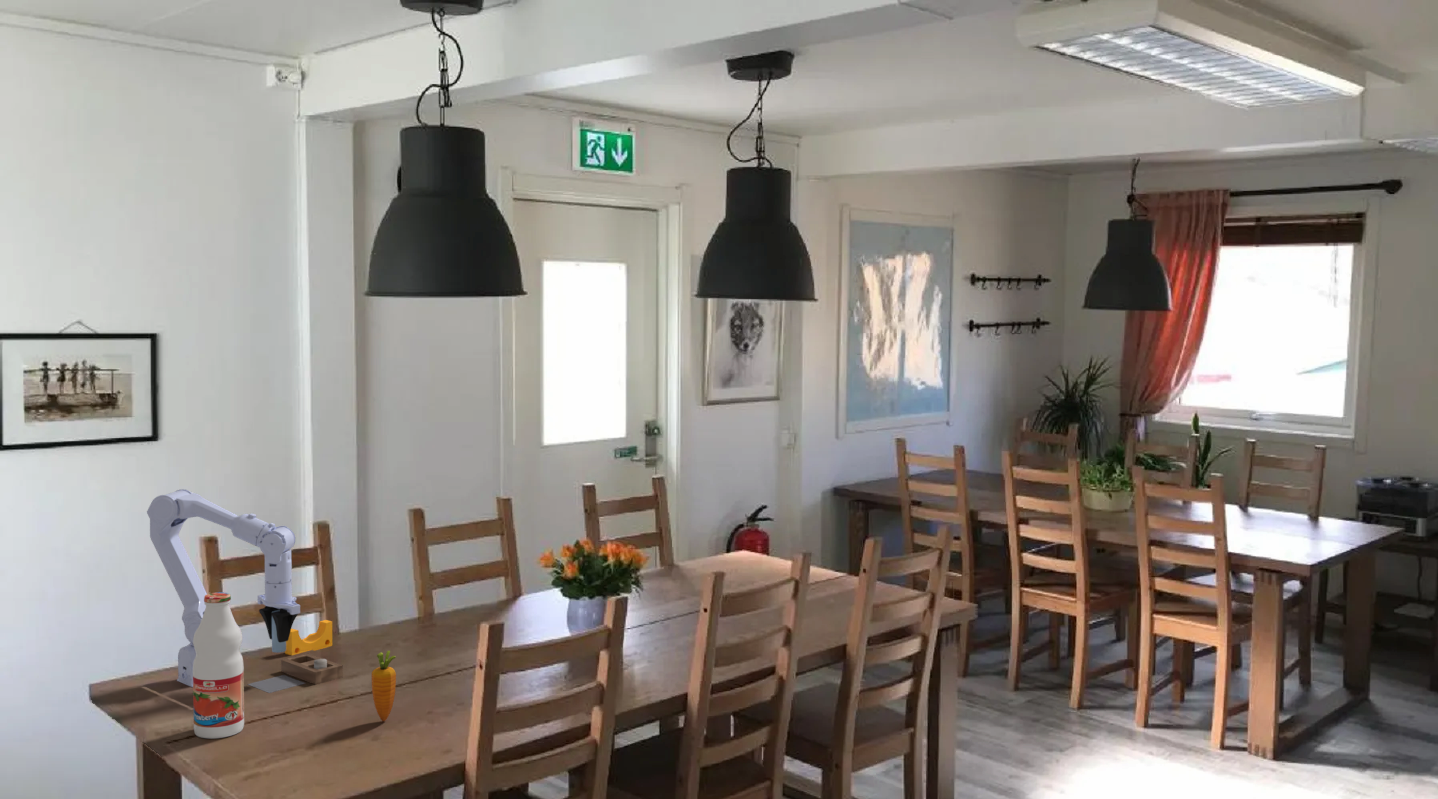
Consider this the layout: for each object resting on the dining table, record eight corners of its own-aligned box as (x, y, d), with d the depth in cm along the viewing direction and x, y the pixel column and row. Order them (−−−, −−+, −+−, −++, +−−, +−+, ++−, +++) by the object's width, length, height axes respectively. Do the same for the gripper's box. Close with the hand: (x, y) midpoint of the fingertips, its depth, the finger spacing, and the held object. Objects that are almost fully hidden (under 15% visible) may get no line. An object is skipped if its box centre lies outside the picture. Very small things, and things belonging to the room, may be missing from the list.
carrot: (386, 715, 248) (386, 646, 247) (401, 721, 245) (401, 650, 243) (366, 721, 244) (366, 651, 243) (380, 727, 241) (380, 655, 240)
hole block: (315, 686, 266) (315, 667, 265) (281, 673, 274) (281, 654, 274) (342, 678, 271) (342, 660, 271) (308, 666, 280) (308, 648, 279)
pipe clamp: (321, 643, 299) (321, 618, 299) (332, 646, 297) (332, 621, 296) (280, 654, 289) (280, 629, 289) (291, 657, 287) (291, 632, 286)
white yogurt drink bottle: (252, 724, 241) (251, 590, 239) (229, 740, 232) (228, 601, 230) (209, 721, 242) (207, 588, 240) (184, 738, 233) (182, 599, 230)
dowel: (276, 653, 265) (276, 614, 264) (269, 650, 267) (269, 611, 266) (288, 650, 267) (288, 611, 266) (281, 647, 269) (281, 609, 268)
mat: (269, 694, 259) (269, 692, 259) (247, 685, 265) (247, 684, 265) (305, 684, 266) (305, 683, 266) (283, 676, 272) (283, 674, 272)
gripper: (312, 583, 264) (312, 642, 265) (277, 573, 273) (277, 630, 274) (283, 588, 259) (284, 649, 260) (248, 578, 268) (249, 636, 269)
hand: (278, 639), depth 267 cm, fingers closed on dowel, 3 cm apart
